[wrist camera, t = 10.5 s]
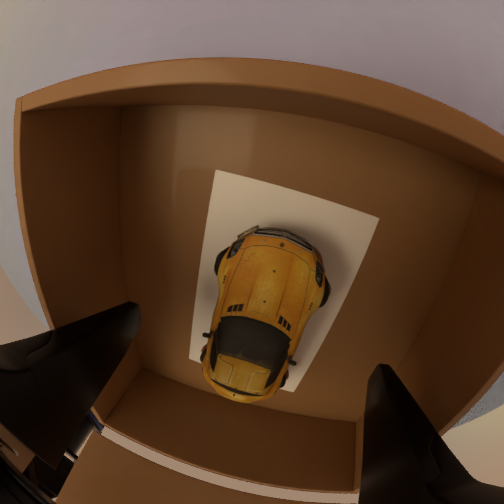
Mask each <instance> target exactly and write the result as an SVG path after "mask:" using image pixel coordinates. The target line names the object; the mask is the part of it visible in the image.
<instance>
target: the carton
mask: <svg viewBox="0 0 504 504" xmlns="http://www.w3.org/2000/svg"><path fill="white" fill-rule="evenodd" d="M216 170H220V171H224V172H228V173H233V174H237V175H241V176H245V177H248V178H252V179H256V180H260V181H264V182H267V183H271V184H274V185H278V186H282V187H285V188H289V189H292V190H295V191H299V192H302V193H305V194H309V195H312V196H315V197H318V198H322V199H325V200H328V201H331V202H334V203H337V204H340V205H343V206H346V207H349V208H352V209H355V210H358V211H361V212H363V213H366V214H369V215H372V216H375V217H377V218H379V221H378V223H377V226H376V229H375V231H374V234H373V236H372V239H371V241H370V244H369V246H368V249H367V251H366V253H365V256H364V258H363V260H362V263H361V265H360V267H359V270H358V272H357V274H356V276H355V279H354V281H353V283H352V285H351V287H350V289H349V292H348V294H347V296H346V298H345V300H344V302H343V304H342V306H341V308H340V310H339V312H338V314H337V316H336V318H335V320H334V322H333V324H332V326H331V328H330V330H329V332H328V333H327V335H326V337H325V339H324V341H323V343H322V345H321V346H320V348H319V350H318V352H317V354H316V355H315V357H314V359H313V361H312V362H311V364H310V366H309V368H308V369H307V371H306V373H305V374H304V376H303V378H302V379H301V381H300V383H299V384H298V386H297V388H296V389H295V391H294V392H290V391H286V390H282V389H278V391H277V392H276V393H275V395H272V396H271V397H269V398H268V399H265V400H261V401H253V402H249V403H243V402H238V401H234V400H231V399H228V398H226V397H224V396H222V395H220V394H219V393H218V392H217V391H216V390H215V389H214V388H213V387H212V386H211V385H210V384H209V383H208V382H207V380H206V379H205V377H204V375H203V372H202V363H199V362H196V361H194V360H191V359H189V352H190V342H191V333H192V323H193V315H194V306H195V298H196V290H197V282H198V275H199V268H200V261H201V254H202V247H203V240H204V234H205V228H206V222H207V216H208V210H209V204H210V198H211V192H212V187H213V181H214V176H215V171H216ZM14 174H15V187H16V197H17V205H18V212H19V219H20V225H21V230H22V236H23V241H24V245H25V250H26V254H27V259H28V263H29V267H30V270H31V274H32V278H33V281H34V284H35V288H36V291H37V294H38V297H39V300H40V303H41V306H42V309H43V312H44V314H45V317H46V320H47V322H48V325H49V327H50V330H53V329H54V330H55V329H56V328H58V327H61V326H64V325H66V324H69V323H72V322H74V321H77V320H80V319H83V318H85V317H88V316H91V315H93V314H96V313H99V312H101V311H104V310H107V309H109V308H112V307H115V306H117V305H120V304H123V303H125V302H128V301H132V302H134V303H137V304H139V306H140V312H141V318H142V323H141V326H140V328H139V330H138V332H137V334H136V336H135V337H134V339H133V341H132V343H131V345H130V347H129V349H128V351H127V353H126V355H125V356H124V358H123V359H122V361H121V362H120V364H119V365H118V367H117V369H116V370H115V372H114V373H113V375H112V376H111V378H110V379H109V381H108V382H107V384H106V385H105V387H104V389H103V390H102V392H101V393H100V395H99V396H98V398H97V400H96V401H95V403H94V404H93V406H92V408H91V410H92V412H93V413H94V415H95V417H96V418H97V420H98V421H99V423H101V424H103V425H104V426H106V427H108V428H110V429H112V430H113V431H115V432H117V433H119V434H120V435H122V436H124V437H126V438H128V439H130V440H132V441H134V442H136V443H138V444H140V445H142V446H144V447H147V448H149V449H151V450H153V451H156V452H158V453H160V454H163V455H165V456H167V457H170V458H173V459H175V460H177V461H180V462H183V463H186V464H188V465H191V466H194V467H197V468H200V469H203V470H206V471H209V472H213V473H216V474H219V475H223V476H226V477H230V478H234V479H238V480H243V481H246V482H251V483H256V484H261V485H266V486H271V487H277V488H284V489H291V490H299V491H309V492H322V493H346V494H348V493H350V494H354V493H355V494H357V493H359V492H360V483H361V471H362V456H363V430H364V412H365V404H366V394H367V383H368V379H369V377H370V375H371V374H372V372H373V371H374V369H375V367H376V366H377V365H378V364H379V363H383V364H389V365H390V366H391V368H392V369H393V370H394V372H395V373H396V374H397V376H398V377H399V378H400V380H401V381H402V383H403V384H404V385H405V387H406V388H407V389H408V391H409V392H410V394H411V395H412V396H413V398H414V399H415V401H416V402H417V403H418V405H419V406H420V408H421V409H422V410H423V412H424V413H425V415H426V416H427V418H428V419H429V420H430V422H431V423H432V425H433V426H434V428H435V429H436V431H437V432H438V434H439V435H440V436H442V435H444V434H445V433H446V432H447V431H448V430H449V429H450V428H451V427H453V426H454V425H455V424H456V423H457V422H458V421H459V420H460V419H461V418H462V417H463V416H464V415H465V414H466V413H467V412H468V411H469V410H470V409H471V408H472V407H473V406H474V405H475V404H476V403H477V402H478V401H479V400H480V399H481V397H482V396H483V395H484V394H485V393H486V392H487V391H488V390H489V388H490V387H491V386H492V385H493V384H494V383H495V381H496V380H497V379H498V378H499V376H500V375H501V374H502V373H503V371H504V136H503V135H502V134H500V133H499V132H497V131H495V130H494V129H492V128H490V127H489V126H487V125H485V124H483V123H482V122H480V121H478V120H476V119H474V118H472V117H470V116H468V115H467V114H465V113H463V112H461V111H458V110H456V109H454V108H452V107H450V106H448V105H446V104H443V103H441V102H439V101H437V100H434V99H432V98H429V97H427V96H424V95H422V94H419V93H417V92H414V91H411V90H408V89H406V88H403V87H400V86H397V85H394V84H391V83H388V82H384V81H381V80H378V79H374V78H371V77H367V76H363V75H359V74H355V73H351V72H347V71H342V70H338V69H333V68H328V67H322V66H316V65H310V64H304V63H297V62H289V61H280V60H269V59H255V58H225V57H219V58H188V59H174V60H164V61H155V62H147V63H140V64H134V65H128V66H123V67H117V68H112V69H108V70H103V71H99V72H95V73H91V74H87V75H83V76H79V77H76V78H72V79H69V80H66V81H63V82H60V83H56V84H54V85H51V86H48V87H45V88H42V89H40V90H37V91H34V92H32V93H29V94H27V95H25V96H22V97H20V98H18V99H16V103H15V115H14Z"/></svg>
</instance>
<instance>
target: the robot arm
mask: <svg viewBox="0 0 504 504" xmlns="http://www.w3.org/2000/svg"><path fill="white" fill-rule="evenodd" d="M141 323H142V318H141V312H140V306H139V304H137V303H134V302H132V301H128V302H125V303H123V304H120V305H117V306H115V307H112V308H109V309H107V310H104V311H101V312H99V313H96V314H93V315H91V316H88V317H85V318H83V319H80V320H77V321H74V322H72V323H69V324H66V325H64V326H61V327H58V328H56V329H55V330H54V329H53V330H50V331H48V332H45V333H42V334H39V335H36V336H33V337H29V338H26V339H23V340H18V341H15V342H11V343H7V344H4V345H0V504H57V503H55V502H54V501H53V500H52V499H53V498H55V497H58V495H59V493H60V491H61V489H62V487H63V485H64V483H65V481H66V479H67V478H68V476H69V474H70V472H71V470H72V468H73V466H74V464H75V463H76V461H77V459H78V456H77V455H76V453H77V452H78V450H79V449H80V447H81V446H82V444H83V443H84V441H85V440H86V438H87V437H88V435H89V434H90V433H91V431H92V430H93V431H96V432H97V433H99V434H101V433H102V432H101V430H100V429H99V428H98V426H97V425H96V423H95V422H94V421H93V419H92V418H91V416H90V415H89V414H88V413H89V411H90V409H91V408H92V406H93V404H94V403H95V401H96V400H97V398H98V396H99V395H100V393H101V392H102V390H103V389H104V387H105V385H106V384H107V382H108V381H109V379H110V378H111V376H112V375H113V373H114V372H115V370H116V369H117V367H118V365H119V364H120V362H121V361H122V359H123V358H124V356H125V355H126V353H127V351H128V349H129V347H130V345H131V343H132V341H133V339H134V337H135V336H136V334H137V332H138V330H139V328H140V326H141ZM64 453H66V454H67V455H69V456H70V457H71V458H73V459H74V461H73V462H72V461H71V460H70V459H68V458H67V457H66V456H64ZM358 504H504V487H499V486H494V485H490V484H485V483H482V482H479V481H477V480H476V479H474V478H473V477H472V476H471V475H470V474H469V473H468V471H467V470H465V468H464V466H463V465H462V464H461V463H460V462H459V460H458V459H457V458H456V457H455V455H454V454H453V453H452V452H451V450H450V449H449V448H448V446H447V445H446V444H445V442H444V441H443V440H442V438H441V436H440V435H439V434H438V432H437V431H436V429H435V428H434V426H433V425H432V423H431V422H430V420H429V419H428V418H427V416H426V415H425V413H424V412H423V410H422V409H421V408H420V406H419V405H418V403H417V402H416V401H415V399H414V398H413V396H412V395H411V394H410V392H409V391H408V389H407V388H406V387H405V385H404V384H403V383H402V381H401V380H400V378H399V377H398V376H397V374H396V373H395V372H394V370H393V369H392V368H391V366H390V365H389V364H383V363H379V364H378V365H377V366H376V367H375V369H374V371H373V372H372V374H371V375H370V377H369V379H368V383H367V394H366V404H365V412H364V430H363V456H362V471H361V483H360V492H359V501H358Z"/></svg>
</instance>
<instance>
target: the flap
mask: <svg viewBox="0 0 504 504" xmlns="http://www.w3.org/2000/svg"><path fill="white" fill-rule="evenodd" d="M55 503H57V504H336V503H315V502H303V501H294V500H286V499H279V498H272V497H266V496H261V495H256V494H251V493H246V492H241V491H238V490H233V489H229V488H226V487H222V486H218V485H215V484H212V483H208V482H205V481H202V480H199V479H196V478H193V477H190V476H187V475H184V474H182V473H179V472H176V471H174V470H171V469H169V468H166V467H164V466H161V465H159V464H157V463H155V462H152V461H150V460H148V459H146V458H144V457H142V456H139V455H137V454H135V453H133V452H131V451H129V450H127V449H125V448H124V447H122V446H120V445H118V444H116V443H114V442H113V441H111V440H109V439H107V438H106V437H104V436H102V435H101V434H99V433H97V432H96V431H93V432H92V434H91V436H90V437H89V439H88V441H87V443H86V444H85V446H84V448H83V450H82V452H81V454H80V455H79V457H78V459H77V461H76V463H75V464H74V466H73V468H72V470H71V472H70V474H69V476H68V478H67V479H66V481H65V483H64V485H63V487H62V489H61V491H60V493H59V495H58V497H57V499H56V501H55ZM337 504H339V503H337Z"/></svg>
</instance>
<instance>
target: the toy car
mask: <svg viewBox="0 0 504 504" xmlns="http://www.w3.org/2000/svg"><path fill="white" fill-rule="evenodd" d="M378 221H379V218H377V217H375V216H372V215H369V214H366V213H363V212H361V211H358V210H355V209H352V208H349V207H346V206H343V205H340V204H337V203H334V202H331V201H328V200H325V199H322V198H318V197H315V196H312V195H309V194H305V193H302V192H299V191H295V190H292V189H289V188H285V187H282V186H278V185H274V184H271V183H267V182H264V181H260V180H256V179H252V178H248V177H245V176H241V175H237V174H233V173H228V172H224V171H220V170H216V171H215V176H214V181H213V187H212V192H211V198H210V204H209V210H208V216H207V222H206V228H205V234H204V240H203V247H202V254H201V261H200V268H199V275H198V282H197V290H196V298H195V306H194V315H193V323H192V333H191V342H190V352H189V359H191V360H194V361H196V362H199V363H202V372H203V375H204V377H205V379H206V380H207V382H208V383H209V384H210V385H211V386H212V387H213V388H214V389H215V390H216V391H217V392H218V393H219V394H220V395H222V396H224V397H226V398H228V399H231V400H234V401H238V402H243V403H249V402H253V401H261V400H265V399H268V398H269V397H271V396H272V395H275V393H276V392H277V391H278V389H282V390H286V391H290V392H294V391H295V389H296V388H297V386H298V384H299V383H300V381H301V379H302V378H303V376H304V374H305V373H306V371H307V369H308V368H309V366H310V364H311V362H312V361H313V359H314V357H315V355H316V354H317V352H318V350H319V348H320V346H321V345H322V343H323V341H324V339H325V337H326V335H327V333H328V332H329V330H330V328H331V326H332V324H333V322H334V320H335V318H336V316H337V314H338V312H339V310H340V308H341V306H342V304H343V302H344V300H345V298H346V296H347V294H348V292H349V289H350V287H351V285H352V283H353V281H354V279H355V276H356V274H357V272H358V270H359V267H360V265H361V263H362V260H363V258H364V256H365V253H366V251H367V249H368V246H369V244H370V241H371V239H372V236H373V234H374V231H375V229H376V226H377V223H378Z"/></svg>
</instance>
